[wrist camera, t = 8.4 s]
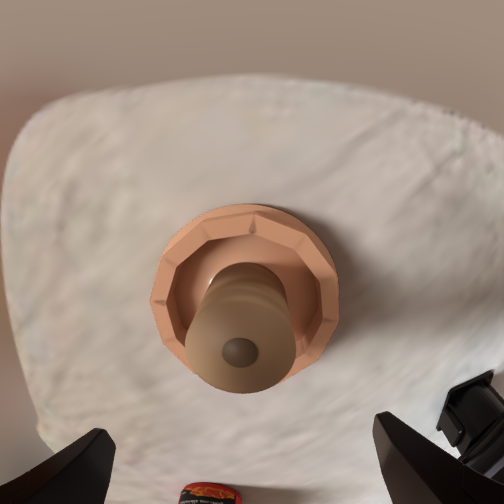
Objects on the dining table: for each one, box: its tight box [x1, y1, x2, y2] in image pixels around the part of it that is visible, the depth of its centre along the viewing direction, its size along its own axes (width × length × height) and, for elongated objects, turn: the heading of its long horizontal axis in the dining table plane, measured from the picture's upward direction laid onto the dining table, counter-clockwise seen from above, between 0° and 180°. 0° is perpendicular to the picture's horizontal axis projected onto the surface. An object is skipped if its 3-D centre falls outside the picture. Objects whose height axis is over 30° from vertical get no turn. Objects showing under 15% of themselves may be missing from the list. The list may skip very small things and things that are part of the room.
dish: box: [150, 204, 339, 383], centre depth 18 cm, size 12×12×3 cm
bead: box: [185, 262, 296, 394], centre depth 15 cm, size 5×5×6 cm
